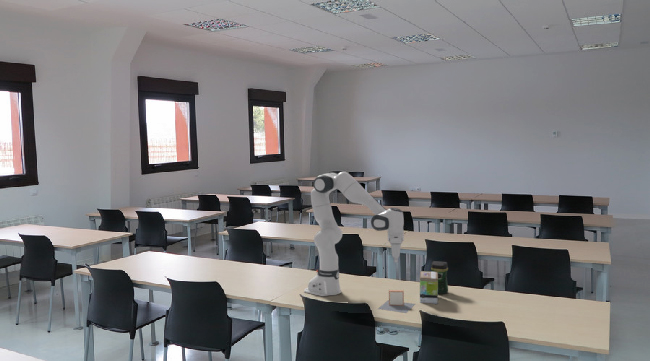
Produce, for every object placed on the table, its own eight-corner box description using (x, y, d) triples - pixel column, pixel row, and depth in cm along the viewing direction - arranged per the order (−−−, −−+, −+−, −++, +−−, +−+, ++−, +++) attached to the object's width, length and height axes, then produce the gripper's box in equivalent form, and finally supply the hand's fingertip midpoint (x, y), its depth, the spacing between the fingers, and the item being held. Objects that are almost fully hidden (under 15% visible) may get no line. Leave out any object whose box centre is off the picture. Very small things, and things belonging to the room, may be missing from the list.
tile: (388, 304, 286) (388, 290, 285) (403, 304, 285) (403, 290, 284) (388, 305, 284) (388, 291, 283) (403, 305, 283) (403, 291, 282)
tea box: (438, 304, 286) (438, 278, 285) (419, 303, 288) (419, 277, 287) (437, 296, 301) (437, 271, 300) (420, 295, 303) (420, 270, 302)
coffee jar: (449, 291, 309) (449, 260, 308) (446, 295, 302) (446, 263, 300) (433, 289, 313) (433, 259, 312) (429, 293, 306) (429, 262, 305)
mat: (377, 309, 279) (377, 308, 279) (388, 301, 293) (388, 300, 293) (406, 314, 272) (406, 312, 271) (415, 305, 286) (415, 303, 286)
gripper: (389, 233, 298) (390, 257, 299) (389, 241, 278) (390, 266, 279) (401, 233, 297) (401, 257, 298) (401, 241, 277) (401, 266, 278)
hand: (395, 262), depth 288 cm, fingers closed
